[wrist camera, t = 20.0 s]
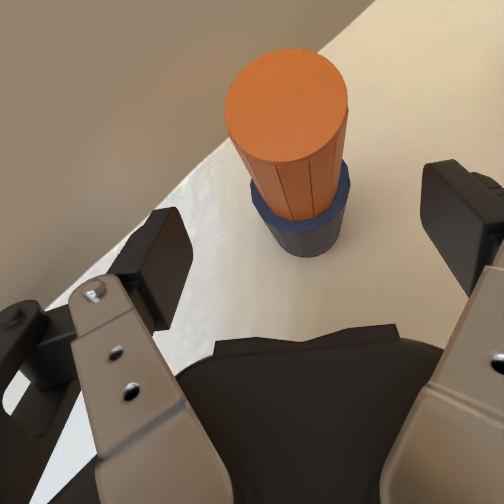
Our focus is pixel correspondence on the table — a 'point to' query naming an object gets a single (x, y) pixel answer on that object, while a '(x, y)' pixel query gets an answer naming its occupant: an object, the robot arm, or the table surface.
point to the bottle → (307, 222)
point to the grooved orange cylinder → (290, 129)
